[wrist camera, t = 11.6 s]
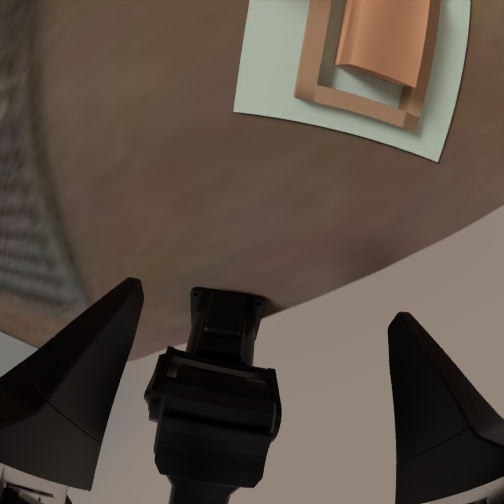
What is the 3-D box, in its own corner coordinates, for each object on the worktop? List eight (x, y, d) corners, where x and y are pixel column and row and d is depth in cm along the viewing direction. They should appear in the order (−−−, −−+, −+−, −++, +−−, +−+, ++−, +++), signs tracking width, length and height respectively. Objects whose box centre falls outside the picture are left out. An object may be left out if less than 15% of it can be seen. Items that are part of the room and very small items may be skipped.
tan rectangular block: (405, -21, 8) (431, -33, 5) (388, 82, 13) (415, 87, 10) (351, -42, 8) (368, -61, 5) (334, 64, 13) (350, 63, 10)
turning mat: (434, 160, 16) (446, 168, 14) (234, 110, 15) (230, 114, 14) (467, -22, 6) (479, -25, 5) (269, -93, 5) (269, -104, 4)
